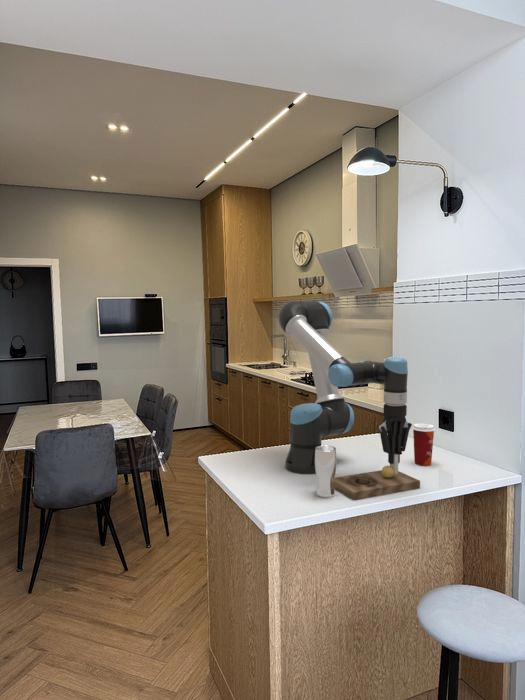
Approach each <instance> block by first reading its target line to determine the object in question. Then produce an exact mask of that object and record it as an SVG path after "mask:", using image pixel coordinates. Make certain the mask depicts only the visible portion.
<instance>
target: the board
mask: <svg viewBox="0 0 525 700" xmlns="http://www.w3.org/2000/svg"><path fill="white" fill-rule="evenodd" d="M420 488H421V480H419V479H418V478H415V477H412V476H410V475H408V474H406V473H404V472H402V471H399V470H398V474H393V476H392V477H390V478H386V477H384V476H383V474H382V469H381V470H375V471H374V470H373V471H370V472H369V471H368V472H362V473H356V474H351V475H344V476H339V477H337V476H336V477H334V490H336V491H337V492H339V493H341V494H343V495H345V496H346V497H347V498H350V499H351V500H353V501H357V500H362V499H363V500H364V499H368V498H374V497H380V496H386V495H390V494H396V493H401V492H406V491H412V490H418V489H420Z"/></svg>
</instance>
